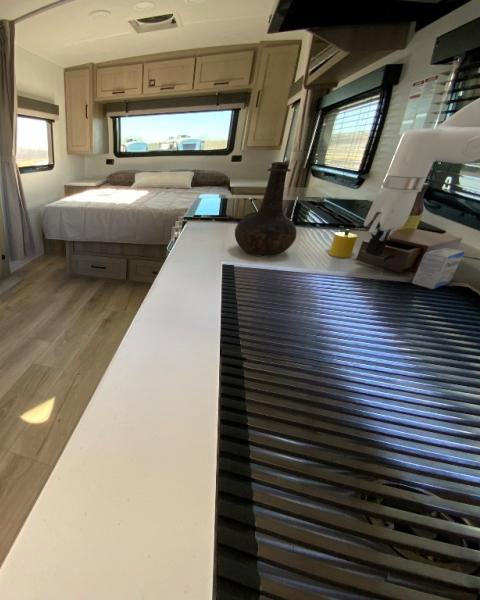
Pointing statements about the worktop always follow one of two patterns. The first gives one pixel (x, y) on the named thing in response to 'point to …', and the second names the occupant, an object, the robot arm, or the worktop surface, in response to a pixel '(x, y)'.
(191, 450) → the worktop surface
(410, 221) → the sauce bottle
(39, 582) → the worktop surface
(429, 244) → the cabinet
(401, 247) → the drawer
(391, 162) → the robot arm
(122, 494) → the worktop surface
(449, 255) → the medicine box
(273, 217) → the glass bottle
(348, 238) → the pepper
